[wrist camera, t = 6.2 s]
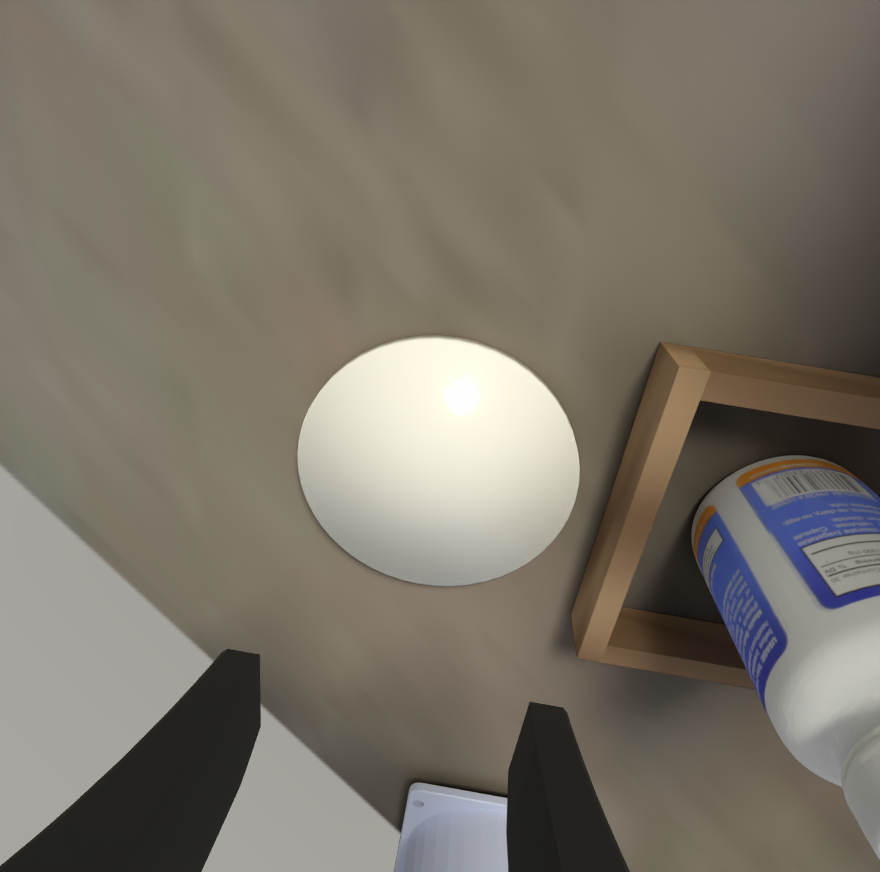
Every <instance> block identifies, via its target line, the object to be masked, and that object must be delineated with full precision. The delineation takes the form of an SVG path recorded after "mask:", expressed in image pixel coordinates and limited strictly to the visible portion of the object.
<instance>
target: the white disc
mask: <svg viewBox="0 0 880 872" xmlns="http://www.w3.org/2000/svg"><path fill="white" fill-rule="evenodd" d="M298 471H299V476H300V481H301V486H302V488H303V491H304V494H305V497H306V500H307V502H308V504H309V506H310V508H311V510H312V512H313V514H314V515H315V517H316V518H317V520H318V521H319V523H320V524H321V526H322V527H323V528H324V530H325V531H326V532H327V533H328V534H329V535H330V537H331V538H332V539H333V540H334V541H335V542H336V543H337V544H339V545H340V546H341V547H342V548H343V549H344V550H345V551H347V552H348V553H349V554H351V555H352V556H353V557H355V558H356V559H357V560H359V561H361V562H362V563H364V564H366V565H368V566H369V567H371V568H373V569H375V570H377V571H380V572H382V573H384V574H386V575H389V576H392V577H395V578H398V579H401V580H405V581H409V582H414V583H418V584H425V585H434V586H458V585H469V584H474V583H480V582H485V581H488V580H491V579H494V578H498V577H501V576H503V575H505V574H508V573H510V572H512V571H514V570H516V569H518V568H520V567H521V566H523V565H525V564H527V563H528V562H530V561H531V560H532V559H534V558H535V557H536V556H538V555H539V554H540V553H541V552H542V551H543V550H544V549H545V548H546V547H547V546H548V545H550V544H551V543H552V542H553V540H554V539H555V538H556V536H557V535H558V534H559V532H560V531H561V530H562V528H563V526H564V525H565V523H566V521H567V519H568V518H569V516H570V513H571V511H572V508H573V505H574V503H575V500H576V495H577V491H578V486H579V472H580V467H579V456H578V450H577V446H576V441H575V438H574V434H573V430H572V426H571V424H570V421H569V419H568V417H567V414H566V412H565V410H564V408H563V407H562V405H561V403H560V402H559V400H558V398H557V397H556V395H555V394H554V393H553V392H552V390H551V389H550V388H549V387H548V386H547V384H546V383H545V382H544V381H543V380H542V379H541V378H540V377H539V376H538V375H537V374H536V373H534V372H533V371H532V370H531V369H530V368H529V367H527V366H526V365H524V364H523V363H522V362H520V361H519V360H517V359H516V358H514V357H513V356H511V355H509V354H507V353H505V352H503V351H501V350H499V349H497V348H495V347H492V346H489V345H487V344H484V343H481V342H478V341H474V340H470V339H466V338H461V337H455V336H445V335H418V336H412V337H405V338H399V339H396V340H392V341H389V342H386V343H382V344H380V345H377V346H375V347H373V348H371V349H368V350H366V351H364V352H362V353H361V354H359V355H358V356H356V357H355V358H353V359H351V360H350V361H348V362H347V363H346V364H345V365H344V366H342V367H341V368H340V369H339V370H338V371H337V372H335V373H334V375H333V376H332V377H331V378H330V379H329V380H328V382H327V383H326V384H325V385H324V386H323V388H322V389H321V391H320V392H319V393H318V395H317V396H316V398H315V400H314V401H313V403H312V404H311V406H310V408H309V410H308V412H307V415H306V417H305V419H304V422H303V425H302V429H301V433H300V436H299V444H298Z"/></svg>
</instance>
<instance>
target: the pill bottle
mask: <svg viewBox="0 0 880 872" xmlns="http://www.w3.org/2000/svg"><path fill="white" fill-rule="evenodd" d="M691 541H692V547H693V552H694V555H695V558H696V561H697V564H698V566H699V568H700V571H701V573H702V575H703V577H704V579H705V581H706V584H707V586H708V588H709V590H710V592H711V594H712V597H713V599H714V601H715V603H716V605H717V607H718V610H719V612H720V614H721V616H722V618H723V620H724V622H725V624H726V627H727V629H728V631H729V633H730V635H731V637H732V640H733V642H734V644H735V646H736V648H737V650H738V652H739V654H740V656H741V659H742V661H743V663H744V665H745V667H746V670H747V672H748V674H749V676H750V678H751V680H752V682H753V684H754V686H755V689H756V691H757V693H758V695H759V697H760V700H761V702H762V704H763V706H764V708H765V710H766V712H767V714H768V716H769V718H770V720H771V722H772V724H773V726H774V728H775V730H776V731H777V733H778V735H779V737H780V738H781V740H782V742H783V743H784V745H785V746H786V747H787V748H788V750H789V751H790V752H791V753H792V754H793V756H794V757H795V758H796V759H797V760H798V761H799V762H800V763H801V764H803V765H804V766H805V767H806V768H807V769H809V770H810V771H812V772H813V773H815V774H816V775H818V776H820V777H822V778H824V779H826V780H828V781H830V782H832V783H834V784H836V785H839V786H841V787H843V791H844V794H845V799H846V802H847V805H848V807H849V808H850V810H851V812H852V813H853V815H854V816H855V818H856V820H857V822H858V824H859V825H860V827H861V829H862V831H863V833H864V834H865V836H866V838H867V840H868V841H869V843H870V845H871V847H872V848H873V850H874V852H875V853H876V855H877V857H878V858H879V860H880V498H879V497H878V496H877V495H876V494H875V493H874V492H873V491H872V490H871V489H870V488H869V487H868V486H867V485H865V484H864V483H863V482H862V481H861V480H860V479H858V478H857V477H856V476H855V475H853V474H852V473H850V472H849V471H848V470H846V469H845V468H843V467H841V466H839V465H837V464H835V463H833V462H830V461H827V460H825V459H821V458H817V457H812V456H804V455H787V456H779V457H773V458H769V459H765V460H762V461H758V462H756V463H753V464H751V465H748V466H746V467H744V468H742V469H740V470H738V471H736V472H734V473H733V474H731V475H730V476H728V477H727V478H725V479H724V480H722V481H721V482H720V483H719V484H717V485H716V486H715V487H714V488H713V489H712V490H711V491H710V492H709V493H708V494H707V496H706V497H705V498H704V500H703V501H702V503H701V504H700V506H699V508H698V510H697V512H696V514H695V517H694V520H693V525H692V531H691Z"/></svg>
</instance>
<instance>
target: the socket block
mask: <svg viewBox="0 0 880 872" xmlns="http://www.w3.org/2000/svg"><path fill="white" fill-rule="evenodd" d="M700 400H702V401H708V402H714V403H720V404H726V405H732V406H738V407H745V408H751V409H757V410H763V411H769V412H775V413H781V414H787V415H794V416H800V417H806V418H812V419H818V420H824V421H830V422H837V423H843V424H849V425H855V426H861V427H867V428H873V429H879V430H880V377H874V376H868V375H862V374H856V373H850V372H843V371H837V370H831V369H825V368H819V367H812V366H806V365H800V364H794V363H788V362H781V361H775V360H769V359H763V358H756V357H750V356H744V355H738V354H732V353H725V352H719V351H713V350H707V349H701V348H694V347H688V346H682V345H676V344H670V343H663V342H660V345H659V348H658V351H657V354H656V357H655V360H654V363H653V366H652V369H651V372H650V375H649V378H648V381H647V384H646V387H645V391H644V394H643V397H642V400H641V403H640V406H639V409H638V412H637V415H636V418H635V421H634V424H633V427H632V430H631V433H630V436H629V439H628V442H627V445H626V448H625V452H624V455H623V458H622V461H621V464H620V467H619V470H618V473H617V476H616V479H615V482H614V485H613V488H612V491H611V494H610V497H609V500H608V503H607V506H606V509H605V513H604V516H603V519H602V522H601V525H600V528H599V531H598V534H597V537H596V540H595V543H594V546H593V549H592V552H591V555H590V558H589V561H588V564H587V567H586V571H585V574H584V577H583V580H582V583H581V586H580V589H579V592H578V595H577V598H576V601H575V604H574V607H573V610H572V613H571V620H572V627H573V634H574V641H575V648H576V654H577V658H578V659H584V660H590V661H596V662H601V663H607V664H613V665H619V666H624V667H630V668H636V669H642V670H647V671H653V672H659V673H665V674H670V675H676V676H682V677H688V678H694V679H699V680H705V681H711V682H717V683H722V684H728V685H734V686H740V687H745V688H751V689H755V686H754V684H753V682H752V680H751V678H750V676H749V674H748V672H747V670H746V667H745V665H744V663H743V661H742V659H741V656H740V654H739V652H738V650H737V648H736V646H735V644H734V642H733V640H732V637H731V635H730V633H729V631H728V629H727V627H726V625H725V624H719V623H713V622H707V621H701V620H695V619H690V618H684V617H678V616H672V615H666V614H660V613H655V612H649V611H643V610H637V609H631V608H625V607H622V604H623V602H624V599H625V597H626V594H627V591H628V589H629V586H630V583H631V581H632V578H633V576H634V573H635V570H636V568H637V565H638V562H639V560H640V557H641V554H642V552H643V549H644V547H645V544H646V541H647V539H648V536H649V533H650V531H651V528H652V525H653V523H654V520H655V518H656V515H657V512H658V510H659V507H660V504H661V502H662V499H663V497H664V494H665V491H666V489H667V486H668V483H669V481H670V478H671V475H672V473H673V470H674V468H675V465H676V462H677V460H678V457H679V454H680V452H681V449H682V446H683V444H684V441H685V439H686V436H687V433H688V431H689V428H690V425H691V423H692V420H693V418H694V415H695V412H696V410H697V407H698V404H699V402H700Z"/></svg>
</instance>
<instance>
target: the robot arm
mask: <svg viewBox="0 0 880 872" xmlns="http://www.w3.org/2000/svg"><path fill="white" fill-rule="evenodd" d="M260 717H261V715H260V655H259V654H253V653H248V652H242V651H236V650H230V649H227V650H225V651H223V652H222V653H221V654H220V655H219V656H218V657H217V659H216V660H215V661H214V662H213V663H212V664H211V666H210V667H209V668H208V669H207V670H206V671H205V673H204V674H203V675H202V676H201V677H200V678H199V679H198V680H197V682H196V683H195V684H194V685H193V686H192V687H191V688H190V689H189V690H188V691H187V692H186V693H185V694H184V696H183V697H182V698H181V699H180V700H179V701H178V702H177V703H176V704H175V705H174V706H173V707H172V709H170V710H169V712H168V713H167V714H166V715H165V716H164V717H163V718H162V719H161V720H160V721H159V722H158V723H157V724H156V725H155V726H154V727H153V728H152V729H151V730H150V731H149V732H148V733H147V734H146V735H145V736H144V737H143V738H142V739H141V740H140V741H139V742H138V743H137V744H136V745H135V746H134V747H133V748H132V749H131V750H130V751H129V752H128V753H127V754H126V755H125V756H124V757H123V758H122V759H121V760H120V761H119V762H118V763H117V764H116V765H115V766H113V767H112V768H111V769H110V770H109V771H108V772H107V773H106V774H105V775H104V776H103V777H102V778H100V779H99V780H98V781H97V782H96V783H95V784H94V785H93V786H92V787H91V788H90V789H89V790H88V791H87V792H85V793H84V794H83V795H82V796H81V797H80V798H79V799H78V800H77V801H76V802H75V803H74V804H72V805H71V806H70V807H69V808H68V809H67V810H66V811H65V812H63V813H62V814H61V815H60V816H59V817H58V818H57V819H56V820H54V821H53V822H52V823H51V824H50V825H49V826H47V827H46V828H45V829H44V830H43V831H42V832H40V833H39V834H38V835H37V836H36V837H35V838H33V839H32V840H31V841H30V842H28V843H27V844H26V845H25V846H24V847H23V848H21V849H20V850H19V851H18V852H16V853H15V854H14V855H13V856H12V857H10V858H9V859H8V860H7V861H6V862H5V863H3V864H2V865H1V866H0V872H201V871H202V869H203V867H204V865H205V862H206V860H207V858H208V856H209V853H210V851H211V849H212V847H213V845H214V843H215V841H216V838H217V836H218V834H219V832H220V829H221V827H222V825H223V823H224V821H225V818H226V816H227V814H228V812H229V810H230V807H231V805H232V803H233V801H234V798H235V796H236V794H237V791H238V789H239V787H240V785H241V782H242V779H243V776H244V774H245V771H246V768H247V765H248V762H249V759H250V756H251V753H252V750H253V747H254V744H255V741H256V738H257V735H258V732H259V729H260V726H261V723H260V722H261V721H260V719H261V718H260ZM394 872H630V871H629V869H628V867H627V864H626V862H625V860H624V858H623V856H622V854H621V851H620V849H619V847H618V844H617V842H616V840H615V837H614V835H613V833H612V830H611V828H610V826H609V824H608V821H607V819H606V817H605V814H604V812H603V810H602V807H601V805H600V802H599V800H598V797H597V795H596V792H595V790H594V787H593V785H592V782H591V780H590V777H589V774H588V772H587V769H586V767H585V764H584V761H583V758H582V756H581V753H580V750H579V747H578V744H577V742H576V739H575V736H574V733H573V730H572V727H571V724H570V720H569V717H568V714H567V712H566V711H565V710H564V708H562V707H556V706H550V705H545V704H539V703H533V702H530V703H529V706H528V710H527V713H526V716H525V719H524V722H523V726H522V729H521V732H520V735H519V738H518V741H517V745H516V748H515V751H514V754H513V757H512V761H511V764H510V767H509V772H508V796H507V798H505V797H499V796H493V795H488V794H482V793H477V792H471V791H466V790H460V789H454V788H449V787H443V786H438V785H432V784H426V783H419V782H418V783H414V784H412V785H411V786H410V788H409V793H408V799H407V804H406V809H405V815H404V820H403V825H402V831H401V836H400V842H399V847H398V853H397V858H396V863H395V868H394Z"/></svg>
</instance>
